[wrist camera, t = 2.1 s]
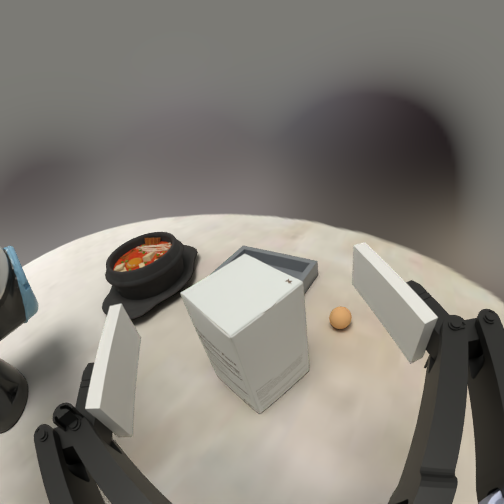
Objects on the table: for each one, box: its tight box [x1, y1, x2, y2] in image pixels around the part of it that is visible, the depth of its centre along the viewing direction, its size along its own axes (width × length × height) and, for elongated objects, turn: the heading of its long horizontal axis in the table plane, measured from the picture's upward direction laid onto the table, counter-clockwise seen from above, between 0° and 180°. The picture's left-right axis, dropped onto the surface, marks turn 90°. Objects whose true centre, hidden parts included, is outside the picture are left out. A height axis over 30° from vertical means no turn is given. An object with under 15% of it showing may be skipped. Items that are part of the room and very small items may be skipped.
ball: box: [329, 307, 351, 329], centre depth 38 cm, size 3×3×3 cm
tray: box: [210, 246, 318, 294], centre depth 49 cm, size 16×16×3 cm
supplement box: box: [180, 254, 309, 414], centre depth 31 cm, size 9×9×15 cm
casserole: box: [102, 232, 198, 319], centre depth 54 cm, size 25×19×8 cm
